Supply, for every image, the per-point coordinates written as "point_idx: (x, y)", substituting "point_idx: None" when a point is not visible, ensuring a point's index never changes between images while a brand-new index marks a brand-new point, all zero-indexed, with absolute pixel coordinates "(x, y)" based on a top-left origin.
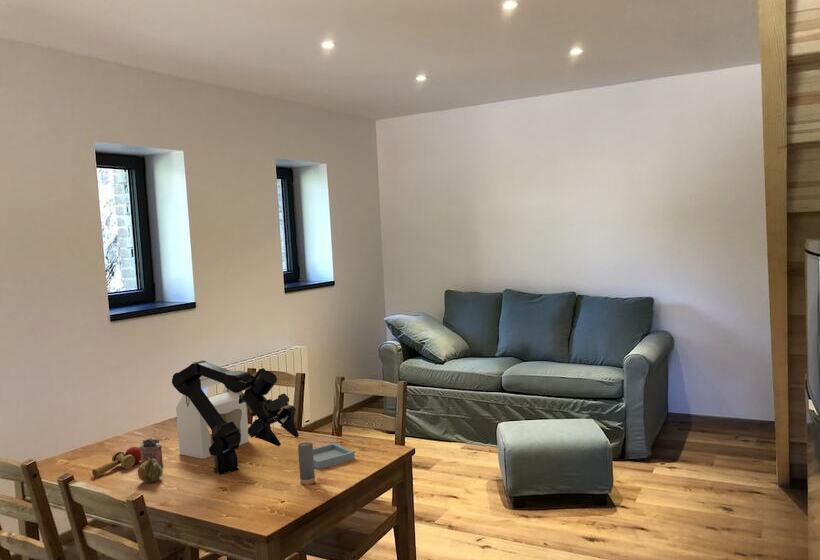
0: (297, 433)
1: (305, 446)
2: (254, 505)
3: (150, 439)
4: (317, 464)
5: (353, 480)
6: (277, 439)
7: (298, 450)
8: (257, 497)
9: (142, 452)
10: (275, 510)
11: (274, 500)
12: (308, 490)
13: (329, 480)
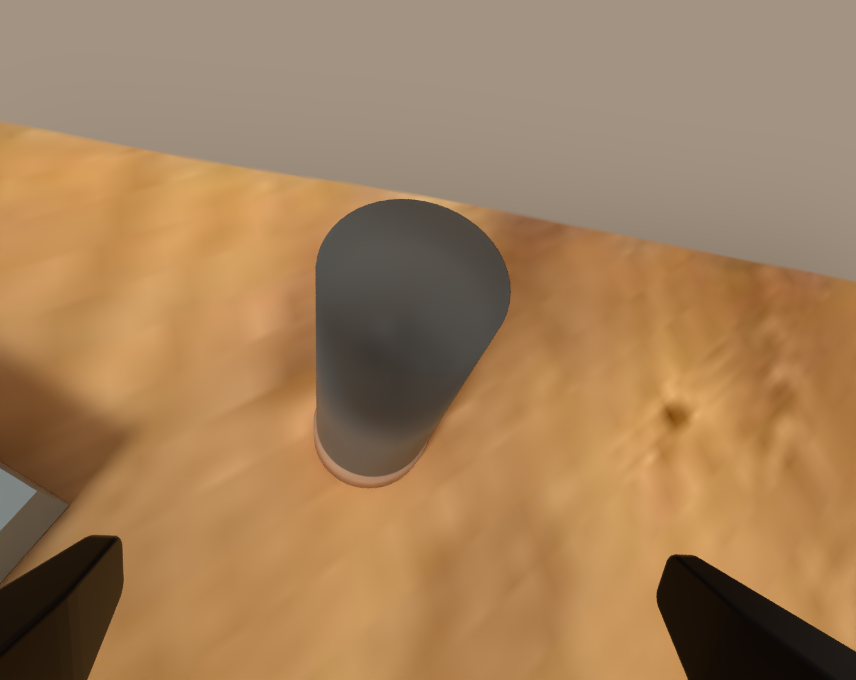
0: (80, 557)
1: (478, 242)
2: (807, 553)
3: None
4: (43, 505)
5: (271, 187)
6: (769, 617)
7: (474, 364)
8: None
9: None
10: (769, 387)
11: (693, 474)
12: (488, 357)
13: (300, 310)
